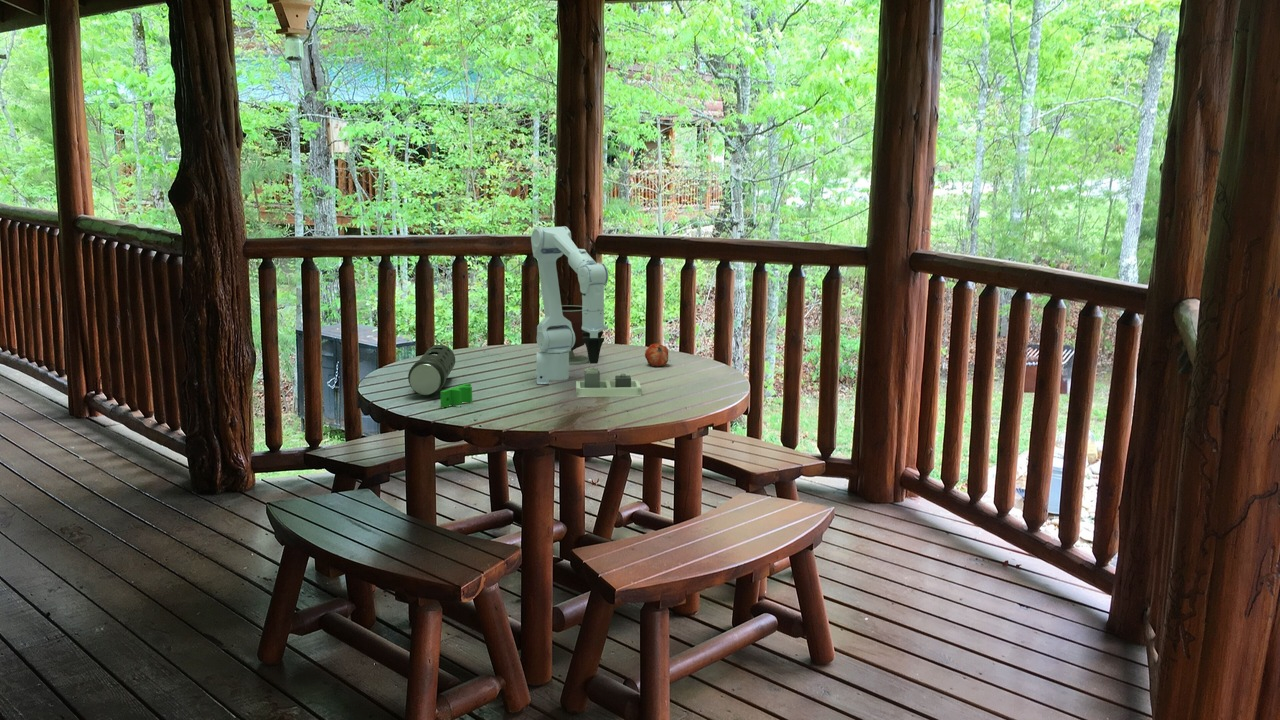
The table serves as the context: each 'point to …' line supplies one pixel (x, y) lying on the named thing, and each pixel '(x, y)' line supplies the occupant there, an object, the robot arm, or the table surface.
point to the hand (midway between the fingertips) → (593, 360)
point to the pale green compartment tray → (608, 389)
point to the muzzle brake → (431, 370)
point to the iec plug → (592, 378)
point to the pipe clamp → (456, 395)
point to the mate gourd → (575, 318)
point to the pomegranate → (656, 355)
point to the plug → (622, 381)
